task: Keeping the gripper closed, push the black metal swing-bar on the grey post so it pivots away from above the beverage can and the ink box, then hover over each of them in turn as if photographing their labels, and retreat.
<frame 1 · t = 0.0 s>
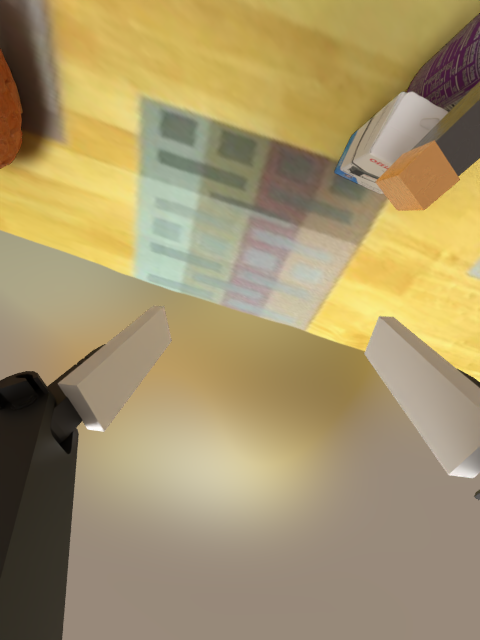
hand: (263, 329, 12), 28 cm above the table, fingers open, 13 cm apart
beverage can: (430, 98, 25), on the table
ink box: (366, 166, 29), on the table
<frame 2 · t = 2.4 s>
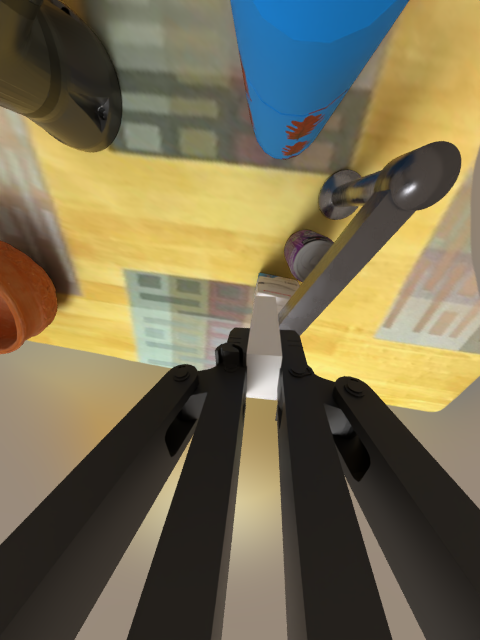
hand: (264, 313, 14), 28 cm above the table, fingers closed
bowl: (36, 277, 48), on the table
thermos: (287, 115, 29), on the table
post: (339, 196, 33), on the table
beverage can: (302, 249, 38), on the table
ink box: (275, 286, 42), on the table
swing bar: (319, 288, 22), point 19 cm above the table, hinge at -40.0°
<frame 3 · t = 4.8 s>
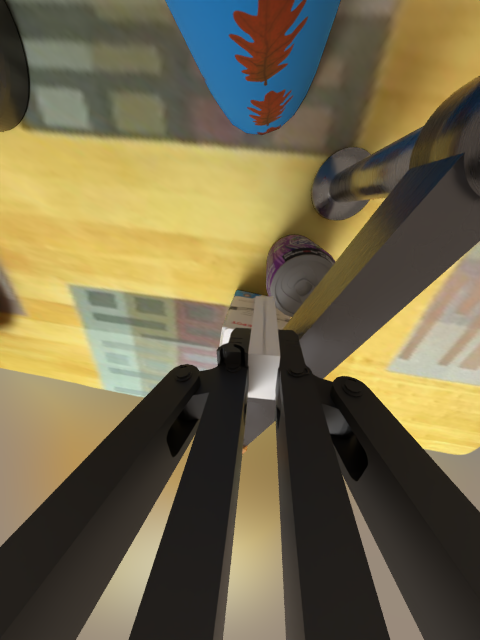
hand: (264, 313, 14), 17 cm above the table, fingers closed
thermos: (262, 66, 19), on the table
post: (341, 187, 23), on the table
beverage can: (291, 260, 28), on the table
ink box: (258, 306, 33), on the table
swing bar: (308, 346, 13), point 19 cm above the table, hinge at -38.4°, touching gripper
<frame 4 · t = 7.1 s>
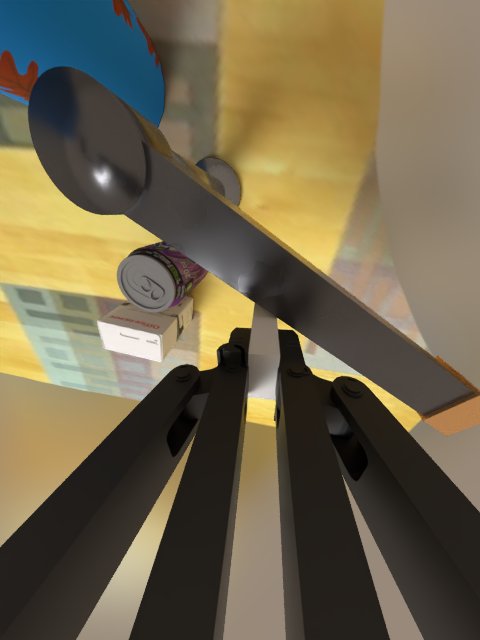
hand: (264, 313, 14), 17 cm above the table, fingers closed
thermos: (121, 85, 22), on the table
post: (214, 193, 25), on the table
beverage can: (188, 260, 30), on the table
ink box: (171, 303, 35), on the table
swing bar: (304, 296, 11), point 19 cm above the table, hinge at 45.9°, touching gripper
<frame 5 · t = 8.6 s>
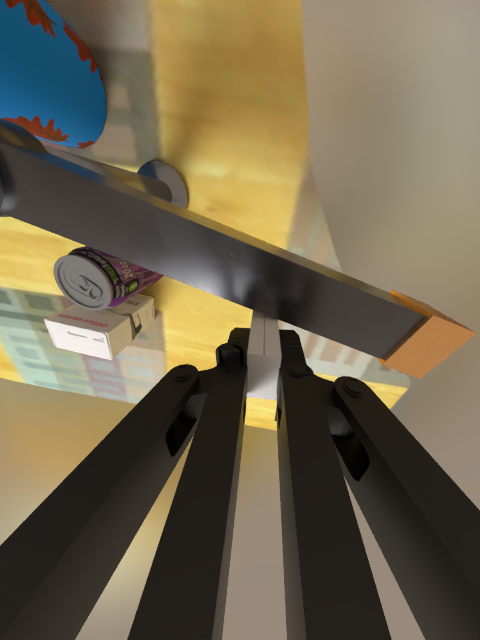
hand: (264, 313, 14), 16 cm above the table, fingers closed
thermos: (63, 89, 22), on the table
post: (163, 195, 26), on the table
beverage can: (145, 260, 31), on the table
ink box: (133, 303, 35), on the table
swing bar: (205, 253, 10), point 19 cm above the table, hinge at 59.5°, touching gripper
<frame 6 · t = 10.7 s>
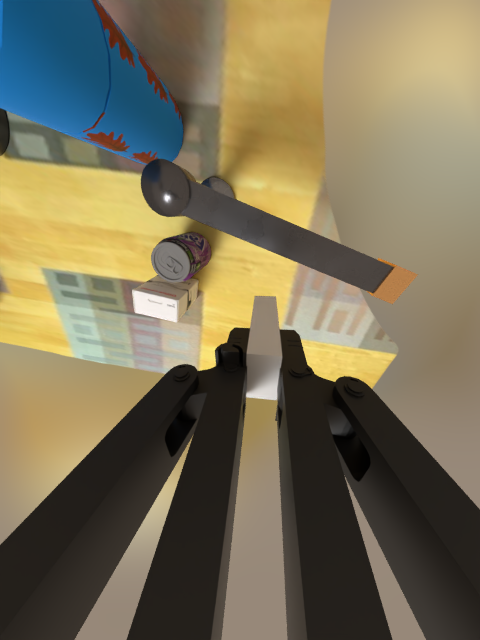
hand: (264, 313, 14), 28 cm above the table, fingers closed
thermos: (153, 127, 32), on the table
post: (216, 201, 35), on the table
beverage can: (195, 250, 40), on the table
ink box: (180, 285, 45), on the table
swing bar: (279, 236, 20), point 19 cm above the table, hinge at 59.8°
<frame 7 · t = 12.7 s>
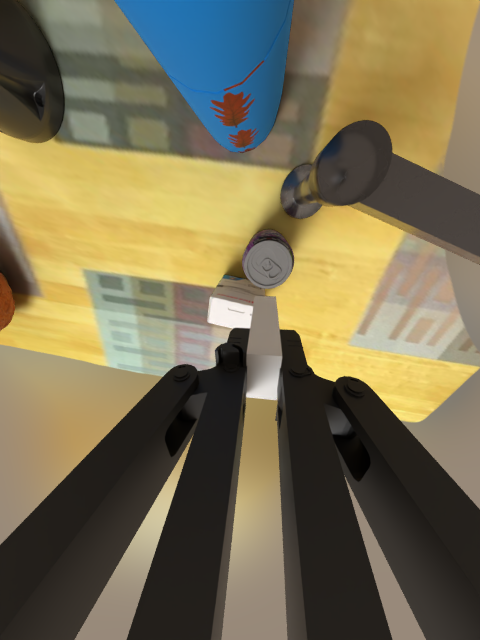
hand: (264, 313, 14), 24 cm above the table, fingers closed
thermos: (241, 104, 27), on the table
post: (302, 193, 30), on the table
beverage can: (267, 250, 35), on the table
ink box: (242, 289, 40), on the table
swing bar: (475, 232, 15), point 19 cm above the table, hinge at 59.8°
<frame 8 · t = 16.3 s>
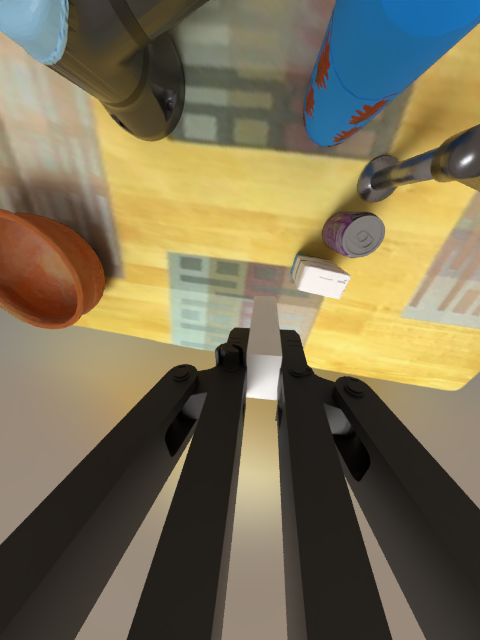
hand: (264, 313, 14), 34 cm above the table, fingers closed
bowl: (82, 261, 52), on the table
thermos: (335, 106, 32), on the table
post: (377, 180, 36), on the table
beverage can: (338, 231, 41), on the table
ink box: (310, 267, 45), on the table
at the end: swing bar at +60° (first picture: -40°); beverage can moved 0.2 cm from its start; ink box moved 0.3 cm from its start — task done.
